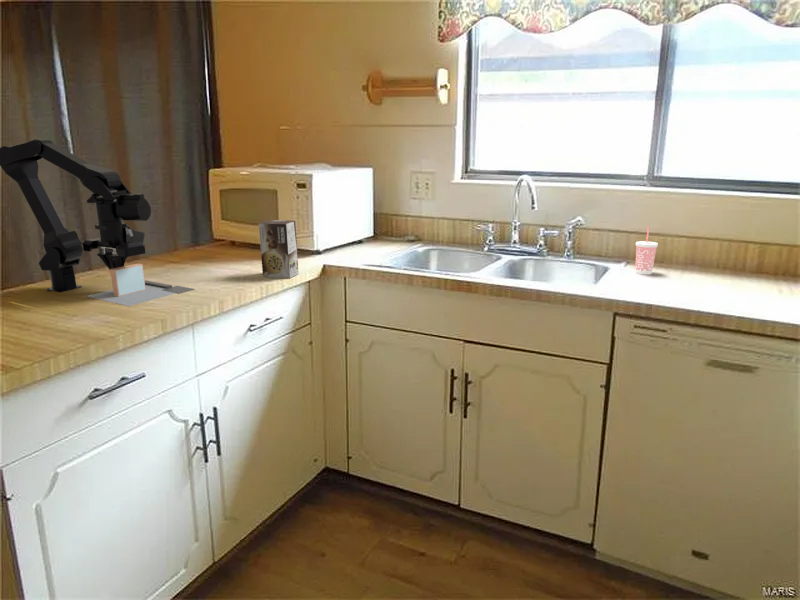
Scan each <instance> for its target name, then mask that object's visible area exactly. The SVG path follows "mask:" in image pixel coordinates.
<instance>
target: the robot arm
mask: <svg viewBox="0 0 800 600" xmlns="http://www.w3.org/2000/svg"><path fill="white" fill-rule="evenodd" d="M41 160H45V161H48V162H49V163H50V164H52V165H53V166H54V165H55V166H57V167H58V168H60V169H61V170H63V171H65V172H66V173H69V174H71V175H72V176H73V177H75V178H77V179H78V180H79V181H80V183H81V184H82V185H83V186H84V188H86V189H87V190H89V191H90V192H91V193H92V194H91V196H90V197H89V198H88V199H87V200H86V203H87V204H95V210H96V211H95V213H96V218H97V224H94V229H95V230H99V237H95V238H90V239H89V238H88V239H85V240H84V241H83V242H82V241H81V240H80V238H79V235H78V233H77V231H76V230H70V231H69V230H68V229H67V228H65V227H64V225H63V223H62V221H61V219H60V218H59V215H58V213H57V211H56V210H55V207H54V205H53V204H52V202H51V200H50V198H49V196H48V194H47V191H46V190H45V188H44V186H43V183H42V182H41V180H40V178H39V163H38V161H41ZM0 168H1V169H2V171H3V172H4V173H5V175H7V176H8V177H10V178H11V179H12V180H13V181H14V182H16V183H17V184H18V187H19V189H20V190H21V192H22V194H23V196H24V198H25V200H26V203H27V204H28V206H29V208H30V209H31V211H32V214H33V215H34V217H35V219H36V220H37V221H36V222H37V223H38V226H39V227H40V228H41V230H42V232H43V243H42V244H43V249H44V250H45V254H44V255H43V256H42V258H40V259H41V260H40V261H39V262H38V265H39V267H40V269H41V271H49V276H50V282H51V286H50V287H46V291H47V292H48V291H49V292H56V293H64V292H67V291H72V290H77V289H81V288H83V286H82V285H79V284H77V281H76V275H75V270H74V269H75V268H74V266H75V265H79V264H80V261H81V257H82V254H83V252H92V251H93V250H96V249H98V251H99V253H97V254H96V256H97V257H99V258H100V260H101V261H102V262H103V263H104V264H105V266H106V267H107V269H108V270H109V271H110V269H114V268H119V267H124V266H125V263H126V260H127V259H128V258H129V257H134V256H135V257H136V256H139V255H144V254H147V248H146V247H147V246H146V245H145V243H144V242H145V236H146V232H144V231H139V230H135V229H132V228H131V226H129V225H128V224H127V223H125V222H123V221H129V222H130V221H131V222H134V221H135V222H147V221H148V220H149V219H150V217H151V212H152V209H151V208H152V207H151V205H150V203H149V201H148V200H147V199H146V198H145V195H144V193H136V194H132V193H131V191H130V190H129V188H128V187H127V186H126V185H125V183H123V181H122V180H121V177H120V174H119V173H118V172H117V171H114V170H112V169H109V168H108V167H103V166H101V165H100V166H99V165H95V164H91V163H89V162H87V161H86V160H83V159H82V158H80V157H78V156H77V155H75V154H73V153H71V152H70V151H68V150H66V149H64V148H62V147H61V146H59V145H57V144H55V143H54V142H53V141H52V140H50V139H48V138H41V139H40V138H36V139H35V138H34V139H33V140H30V141H27V142H24V143H20V144H16V145H4V146H1V147H0Z"/></svg>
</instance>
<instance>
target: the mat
mask: <svg viewBox="0 0 800 600" xmlns="http://www.w3.org/2000/svg"><path fill="white" fill-rule="evenodd" d="M145 287H146V290H143V291H139V292H135V293H131V294H127V295H124V296H120V297H118V296H114V293H113V289H109V290H104V291H102V292H97V293H94V294H89V295H86V296H85V297H87V298H92V299H95V300H100V301H103V302H108V303H112V304H113V303H114V304H118V305H122V306H126V307H131V306H132V307H133V306H134V305H138V304H142V303H145V302H149V301H153V300H157V299H161V298H165V297H169V296H171V295H172V296H173V295H176V294H177V293H174V292H169V291H164V290H163V289H166V288H161V287H156V286H151V285H146V284H145Z"/></svg>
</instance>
